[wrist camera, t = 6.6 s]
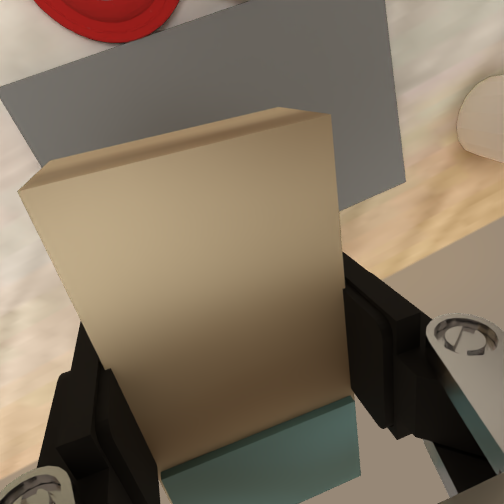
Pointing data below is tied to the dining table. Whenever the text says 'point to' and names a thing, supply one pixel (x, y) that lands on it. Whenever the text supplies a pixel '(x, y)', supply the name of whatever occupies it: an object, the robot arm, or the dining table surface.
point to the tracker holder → (110, 17)
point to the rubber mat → (231, 85)
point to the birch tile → (215, 299)
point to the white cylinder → (483, 119)
